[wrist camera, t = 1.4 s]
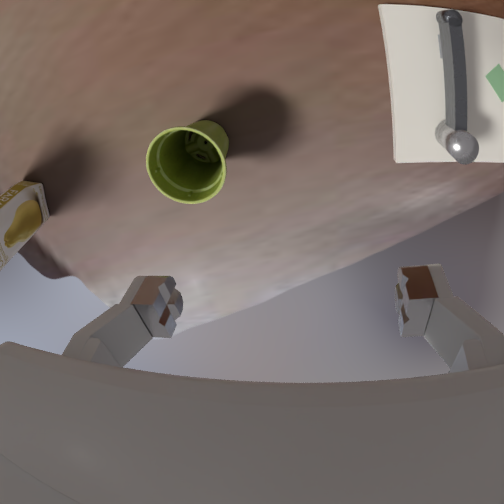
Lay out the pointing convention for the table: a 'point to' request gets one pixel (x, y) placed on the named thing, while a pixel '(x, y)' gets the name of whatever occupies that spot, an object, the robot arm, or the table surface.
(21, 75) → the table surface
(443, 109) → the dial board
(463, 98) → the grey lever handle
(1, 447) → the robot arm
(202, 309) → the table surface
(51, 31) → the table surface
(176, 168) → the plant pot
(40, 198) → the juice carton
